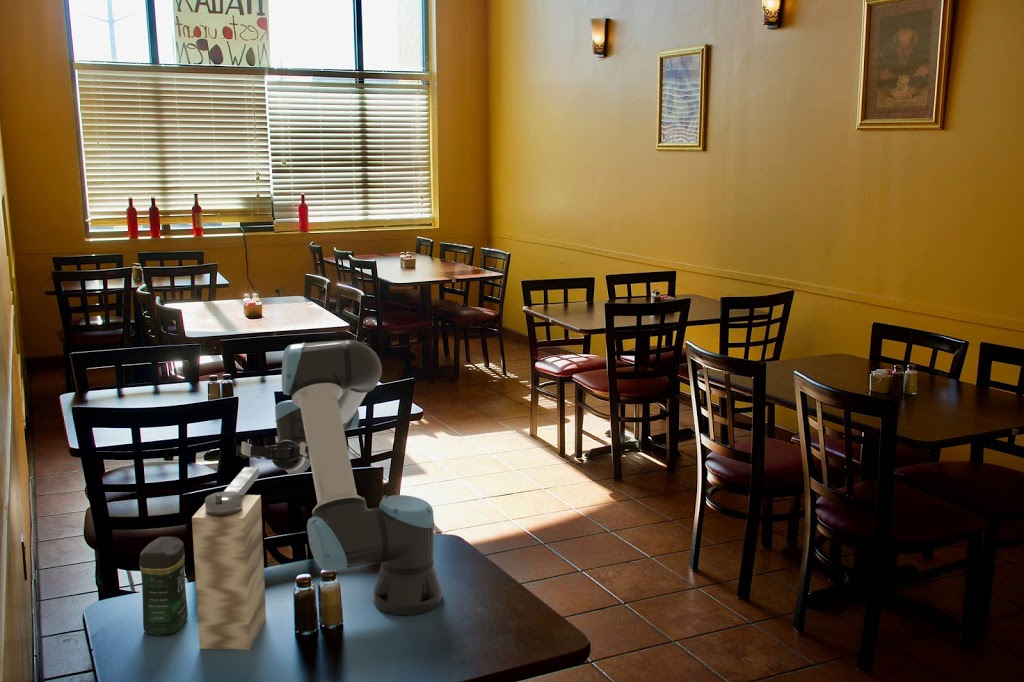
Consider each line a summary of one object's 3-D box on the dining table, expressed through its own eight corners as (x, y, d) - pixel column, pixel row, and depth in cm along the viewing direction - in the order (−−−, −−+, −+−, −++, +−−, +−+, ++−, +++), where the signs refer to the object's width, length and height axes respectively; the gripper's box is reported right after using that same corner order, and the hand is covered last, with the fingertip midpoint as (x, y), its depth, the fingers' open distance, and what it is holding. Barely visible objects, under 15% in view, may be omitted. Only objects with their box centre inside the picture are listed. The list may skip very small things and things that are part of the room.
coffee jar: (177, 637, 185) (172, 553, 182) (138, 637, 185) (132, 552, 181) (193, 613, 195) (188, 533, 191) (156, 613, 195) (150, 532, 191)
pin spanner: (235, 475, 198) (235, 457, 197) (267, 476, 198) (267, 458, 197) (200, 516, 176) (199, 496, 175) (236, 517, 176) (235, 497, 175)
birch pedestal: (266, 619, 193) (260, 495, 187) (249, 649, 181) (243, 518, 176) (219, 618, 193) (212, 494, 187) (199, 648, 181) (191, 517, 176)
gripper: (336, 470, 234) (325, 463, 214) (238, 470, 233) (217, 463, 212) (337, 441, 236) (326, 432, 215) (240, 440, 234) (219, 431, 214)
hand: (272, 447), depth 214 cm, fingers open, 13 cm apart
